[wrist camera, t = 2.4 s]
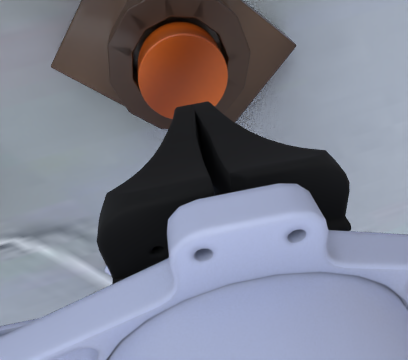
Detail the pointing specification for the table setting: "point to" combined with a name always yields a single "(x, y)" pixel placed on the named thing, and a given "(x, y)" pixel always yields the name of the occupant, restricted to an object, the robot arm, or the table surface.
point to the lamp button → (180, 68)
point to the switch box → (151, 20)
